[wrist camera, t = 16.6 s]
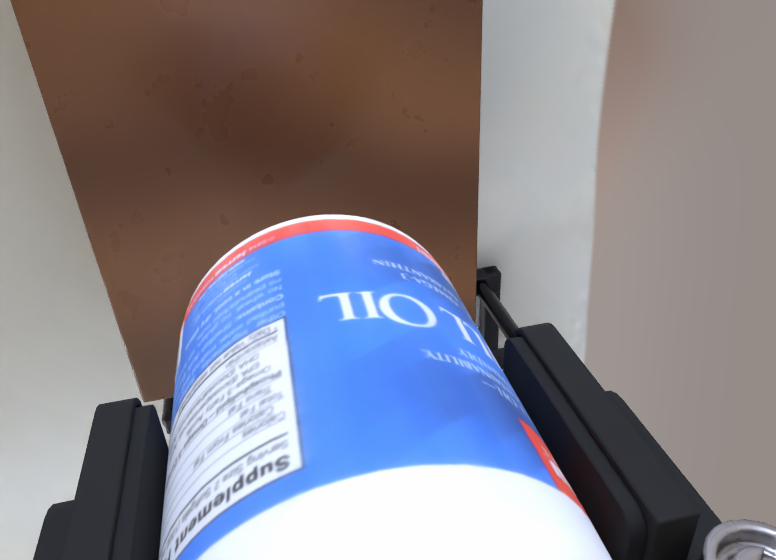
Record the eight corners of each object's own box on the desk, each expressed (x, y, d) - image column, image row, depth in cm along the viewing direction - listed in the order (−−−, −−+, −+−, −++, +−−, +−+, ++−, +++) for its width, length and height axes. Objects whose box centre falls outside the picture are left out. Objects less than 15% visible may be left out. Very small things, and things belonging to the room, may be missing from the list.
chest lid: (469, 331, 24) (475, 342, 23) (144, 389, 22) (143, 403, 21) (476, -119, 17) (485, -119, 16) (-10, -89, 15) (-20, -88, 14)
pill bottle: (502, 295, 14) (932, 912, 5) (340, 459, 15) (490, 1141, 7) (293, 142, 11) (533, 919, 3) (119, 361, 12) (-58, 1294, 4)
